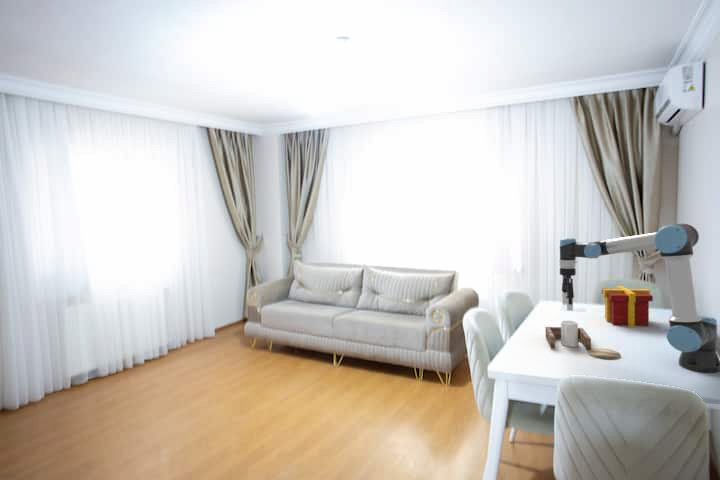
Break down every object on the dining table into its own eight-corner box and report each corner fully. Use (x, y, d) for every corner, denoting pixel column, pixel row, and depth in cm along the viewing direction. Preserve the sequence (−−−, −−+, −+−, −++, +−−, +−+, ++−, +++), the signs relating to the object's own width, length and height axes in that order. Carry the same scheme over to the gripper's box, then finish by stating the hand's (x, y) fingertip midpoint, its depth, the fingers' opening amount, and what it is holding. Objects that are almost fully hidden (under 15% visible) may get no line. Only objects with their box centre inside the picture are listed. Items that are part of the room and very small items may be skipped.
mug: (572, 349, 228) (572, 326, 227) (555, 346, 234) (555, 324, 233) (580, 344, 236) (580, 322, 235) (564, 341, 242) (564, 319, 241)
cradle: (591, 350, 225) (591, 338, 225) (550, 348, 231) (550, 337, 230) (582, 338, 245) (582, 327, 245) (545, 337, 250) (545, 326, 250)
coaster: (624, 360, 210) (624, 358, 210) (591, 358, 214) (591, 356, 214) (615, 350, 223) (615, 349, 223) (585, 349, 227) (585, 347, 227)
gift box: (641, 317, 284) (642, 286, 282) (656, 328, 260) (656, 293, 258) (598, 316, 291) (598, 286, 289) (609, 326, 267) (609, 293, 265)
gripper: (580, 271, 219) (580, 313, 221) (570, 264, 243) (570, 302, 245) (563, 271, 221) (563, 312, 223) (556, 264, 245) (556, 302, 247)
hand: (567, 307), depth 234 cm, fingers open, 13 cm apart
